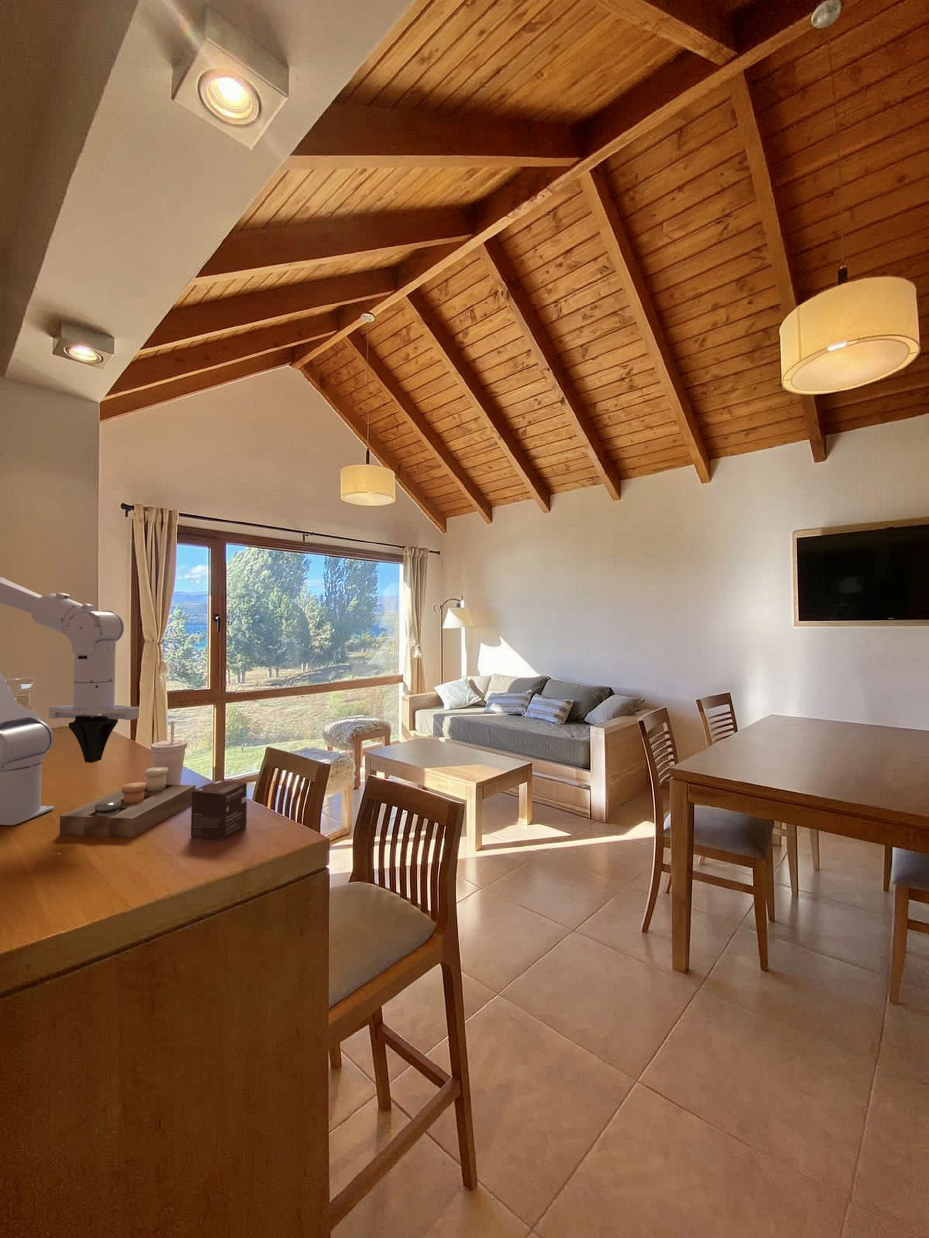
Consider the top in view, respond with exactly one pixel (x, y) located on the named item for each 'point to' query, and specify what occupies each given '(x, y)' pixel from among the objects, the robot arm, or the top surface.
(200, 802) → the box
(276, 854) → the top surface
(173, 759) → the smoothie
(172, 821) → the top surface
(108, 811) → the plug metal
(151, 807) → the socket board
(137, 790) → the plug terracotta
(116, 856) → the top surface
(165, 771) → the plug cream
